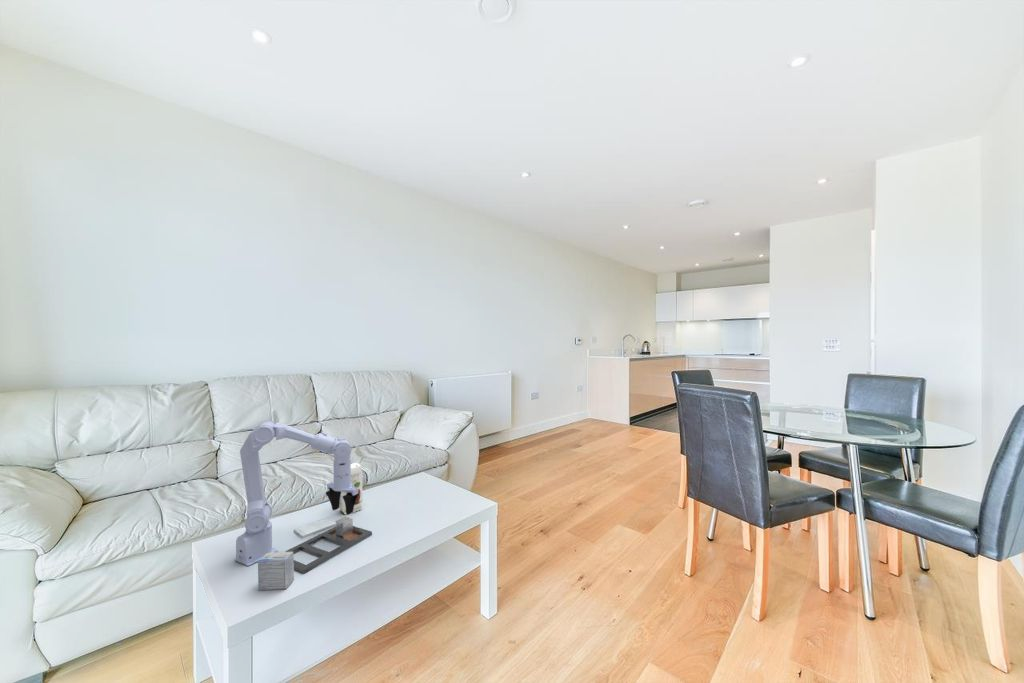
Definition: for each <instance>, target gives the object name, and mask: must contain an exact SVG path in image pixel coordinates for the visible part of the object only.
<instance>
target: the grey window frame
mask: <svg viewBox="0 0 1024 683" xmlns="http://www.w3.org/2000/svg"><path fill="white" fill-rule="evenodd" d="M372 535H373V531H372V530H367V529H364V528H361V527H358V526H354V525H353V535H352V536H350V537H349V538H347V539H343V538H340V537H337V536H336V526H335V527H332V528H329V529H327V530H324V531H322V532H320V533H318V534H317V535H316V536H313V537H311V538H309V539H308V540H305V541H303V542H301V543H299V544H297V545H296V546H293V547H292V548H289V549H287V550H285V551H284V552H293V555H294V554H296V553H298V552H300V551H302V552H304V553H307V554H310V555H311V556H315V557H318V558H316V559H314V560H313V561H311V562H308V563H307V564H305V563H303V562H299V561H297V560H295V559H294V571H296V572H298V573H300V574H304V575H305V574H306V573H308V572H309V571H312V570H314V569H316V568H317V567H319V566H320V565H322V564H324V563H326V562H327V561H329V560H331V559H332V558H335V557H336V556H339V555H340V554H341V553H343V552H345V551H347V550H348V549H350V548H351V547H353V546H356V545H357V544H359V543H360V542H362V541H364V540H365V539H367V538H369V537H370V536H372ZM322 540H323V541H326V542H329V543H332V544H335V545H338V546H337V547H336V548H334V549H332V550H331V551H328V550H324V549H323V548H319V547H317V546H313V544H316V543H317V542H320V541H322Z"/></svg>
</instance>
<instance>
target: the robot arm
mask: <svg viewBox="0 0 1024 683" xmlns="http://www.w3.org/2000/svg"><path fill="white" fill-rule="evenodd" d="M274 438H275V441H279V440H282V439H290V440H294V441H297V442H301V443H304V444H308V445H310V447H311V449H312V450H315V451H318V452H322V453H325V454H328V455H333V457H334V458H333V459H334V461H333V482H329V483H327V484H326V489H327V490H328V491H325V495H326V496H327V498H328V500H329V502H330V506H331V509H332V511H336V510H338V509H340V508H339V503H340V494H341V492H345V493H348V494H347V495H344V496H343V499H344V502H345V506H346V513H347V515H350V514H352V513H354V512H353V509H354V505H355V502H356V499H357V497H358V496H359V492H358V488H356V487H354V486H353V483H351V464H352V463H351V453H352V448H351V443H350V442H349V441H348V440H346V439H344V438H340V437H337V438H336V437H333V436H329V435H328V433H326V432H323V433H321V432H319V433H317V434H312V433H310V432H307V431H304V430H302V429H298V428H296V427H294V426H290V425H288V424H285V423H282V422H276V421H274V420H264V421H261V422H260V423H259V424H257V426H256V427H255V428H254V429H253V430H252V431H251V432H249V434H248V436H247V438H246V439H245V440H244V443H243V444H242V446H241V448H240V451H239V456H240V461H241V467H242V473H243V474H242V475H243V482H244V488H245V495H246V500H247V504H246V505H247V507H246V520H245V522H244V528H245V531H244V533H242V534H240V535H238V536H237V538H236V541H235V558H234V561H236V562H238V563H240V564H242V565H245V566H247V567H248V566H252V565H253V564H256V563H258V561H259V560H260V559H261V558H262V557H263V556H264V555H265V554H267V553H272V552H279V550H278V549H277V548H274V547H273V527H272V526H273V524H272V522H271V521H270V518H271V515H272V513H273V510H272V506H270V505H269V502H268V499H267V497H266V493H265V488H264V480H263V475H262V466H261V460H260V454H259V451H260V450H261V449H262V448H263V447H264V446H265V445H268V444H269V443H270V442H272V441H273V439H274Z"/></svg>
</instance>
